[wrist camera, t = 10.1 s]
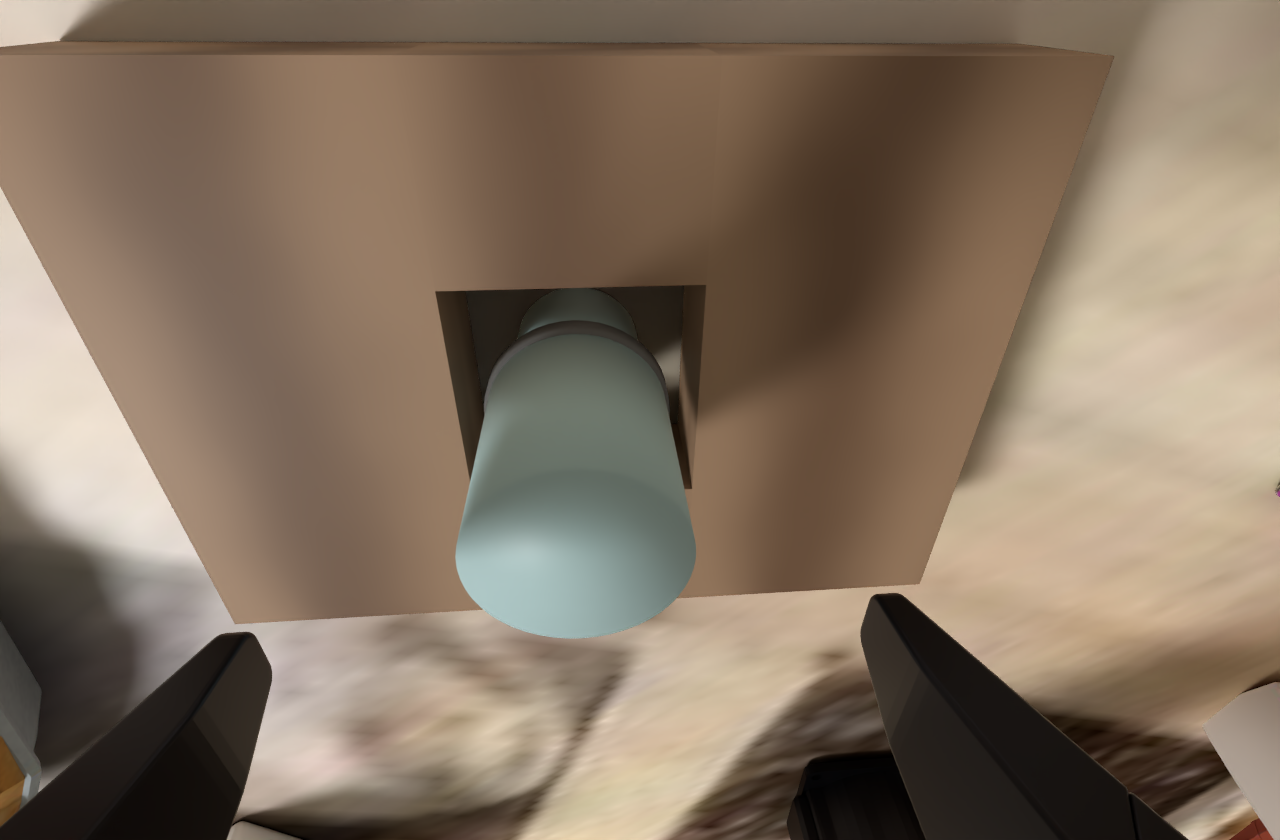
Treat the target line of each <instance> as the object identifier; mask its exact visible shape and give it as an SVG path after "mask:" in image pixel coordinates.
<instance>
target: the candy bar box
mask: <svg viewBox="0 0 1280 840" xmlns="http://www.w3.org/2000/svg"><path fill="white" fill-rule="evenodd" d="M1275 493H1276V495H1277V496H1279V497H1280V485H1279V486H1278V487H1277V488H1276V490H1275Z"/></svg>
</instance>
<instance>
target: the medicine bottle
mask: <svg viewBox="0 0 1280 840" xmlns="http://www.w3.org/2000/svg"><path fill="white" fill-rule="evenodd" d="M227 840H302V839H299V838H296V837H293V836H290V835H287V834H283V833H280V832H277V831H274V830H271V829H268V828H264V827H261V826H258V825H255V824H252V823H249V822H245V821H240V822H238V823H236V824H235V825H233V826H232V827H231V829H230V832H229V835H228V838H227Z"/></svg>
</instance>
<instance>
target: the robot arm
mask: <svg viewBox="0 0 1280 840" xmlns="http://www.w3.org/2000/svg"><path fill="white" fill-rule="evenodd" d="M861 643H862V647H863V651H864V655H865V658H866V662H867V666H868V669H869V673H870V677H871V680H872V684H873V688H874V691H875V695H876V699H877V702H878V706H879V710H880V713H881V717H882V721H883V724H884V728H885V731H886V735H887V738H888V741H889V744H890V747H891V750H892V753H893V755H894V757H893V758H880V759H868V760H855V761H842V762H829V763H816V764H811V765H809V766H807V767H805V769H804V771H803V775H802V778H801V782H800V785H799V788H798V792H797V795H796V796H795V798H794V800H793V802H792V806H791V809H790V812H789V816H788V819H787V827H788V831H789V835H790V839H791V840H1188V839H1187V838H1186V837H1185V836H1183V835H1182V834H1181V833H1180V832H1179V831H1177V830H1176V829H1175V828H1174V827H1173V826H1171V825H1170V824H1169V823H1168V822H1167V821H1165V820H1164V819H1163V818H1162V817H1161V816H1159V815H1158V814H1157V813H1156V812H1155V811H1154V810H1153V809H1151V808H1150V807H1149V806H1148V805H1147V804H1146V803H1144V802H1143V801H1142V800H1141V799H1140V798H1139V797H1137V796H1136V795H1135V794H1133V793H1128V789H1127V788H1126V787H1125V786H1124V785H1123V784H1122V783H1121V782H1120V781H1118V780H1117V779H1116V778H1115V777H1114V776H1113V775H1111V774H1110V773H1109V772H1108V771H1107V770H1106V769H1105V768H1103V767H1102V766H1101V765H1100V764H1099V763H1098V762H1096V761H1095V760H1094V759H1093V758H1092V757H1091V756H1089V755H1088V754H1087V753H1086V752H1085V751H1084V750H1082V749H1081V748H1080V747H1079V746H1078V745H1077V744H1075V743H1074V742H1073V741H1072V740H1071V739H1070V738H1068V737H1067V736H1066V735H1065V734H1064V733H1063V732H1061V731H1060V730H1059V729H1058V728H1057V727H1056V726H1055V725H1053V724H1052V723H1051V722H1050V721H1049V720H1048V719H1046V718H1045V717H1044V716H1043V715H1042V714H1041V713H1039V712H1038V711H1037V710H1036V709H1035V708H1034V707H1032V706H1031V705H1030V704H1029V703H1028V702H1027V701H1025V700H1024V699H1023V698H1022V697H1021V696H1020V695H1018V694H1017V693H1016V692H1015V691H1014V690H1013V689H1011V688H1010V687H1009V686H1008V685H1007V684H1006V683H1004V682H1003V681H1002V680H1001V679H1000V678H999V677H998V676H996V675H995V674H994V673H993V672H992V671H991V670H989V669H988V668H987V667H986V666H985V665H984V664H982V663H981V662H980V661H979V660H978V659H977V658H975V657H974V656H973V655H972V654H971V653H970V652H968V651H967V650H966V649H965V648H964V647H963V646H961V645H960V644H959V643H958V642H957V641H956V640H954V639H953V638H952V637H951V636H950V635H949V634H948V633H946V632H945V631H944V630H943V629H942V628H941V627H939V626H938V625H937V624H936V623H935V622H934V621H932V620H931V619H930V618H929V617H928V616H927V615H925V614H924V613H923V612H922V611H921V610H920V609H918V608H917V607H916V606H915V605H914V604H913V603H911V602H910V601H909V600H908V599H907V598H906V597H904V596H903V595H901V594H898V593H887V594H875V595H874V596H872V597H871V599H870V601H869V604H868V607H867V611H866V614H865V617H864V620H863V623H862V626H861ZM271 682H272V669H271V665H270V663H269V661H268V659H267V657H266V655H265V653H264V651H263V649H262V648H261V646H260V644H259V642H258V640H257V638H256V636H255V635H254V634H252V633H250V632H236V633H225V634H221V635H219V636H217V637H215V638H214V639H213V640H211V641H210V642H209V643H208V644H207V645H206V646H205V647H204V648H202V649H201V650H200V651H199V652H198V653H197V654H196V655H194V656H193V657H192V658H191V659H190V660H189V661H188V662H186V663H185V664H184V665H183V666H182V667H181V668H180V669H179V670H177V671H176V672H175V673H174V674H173V675H172V676H171V677H169V678H168V679H167V680H166V681H165V682H164V683H163V684H161V685H160V686H159V687H158V688H157V689H156V690H155V691H154V692H152V693H151V694H150V695H149V696H148V697H147V698H146V699H144V700H143V701H142V702H141V703H140V704H139V705H138V706H136V707H135V708H134V709H133V710H132V711H131V712H130V713H129V714H127V715H126V716H125V717H124V718H123V719H122V720H121V721H119V722H118V723H117V724H116V725H115V726H114V727H113V728H111V729H110V730H109V731H108V732H107V733H106V734H105V735H104V736H102V737H101V738H100V739H99V740H98V741H97V742H96V743H94V744H93V745H92V746H91V747H90V748H89V749H88V750H86V751H85V752H84V753H83V754H82V755H81V756H80V757H79V758H77V759H76V760H75V761H74V762H73V763H72V764H71V765H69V766H68V767H67V768H66V769H65V770H64V771H63V772H61V773H60V774H59V775H58V776H57V777H56V778H55V779H54V780H52V781H51V782H50V783H49V784H48V785H47V786H46V787H44V788H43V789H42V790H41V791H40V792H39V793H38V794H36V795H35V796H34V797H33V798H32V799H31V800H30V801H29V802H27V803H26V804H25V805H24V806H23V807H22V808H21V809H19V810H18V811H17V812H16V813H15V814H14V815H13V816H11V817H10V818H9V819H8V820H7V821H6V822H5V823H4V824H2V825H1V826H0V840H227V838H228V835H229V832H230V829H231V827H232V824H233V821H234V818H235V816H236V813H237V810H238V807H239V804H240V801H241V798H242V795H243V792H244V789H245V785H246V781H247V778H248V774H249V770H250V766H251V762H252V758H253V754H254V750H255V746H256V742H257V738H258V734H259V730H260V726H261V722H262V718H263V714H264V710H265V706H266V702H267V698H268V694H269V690H270V686H271Z"/></svg>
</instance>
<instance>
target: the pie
mask: <svg viewBox="0 0 1280 840" xmlns="http://www.w3.org/2000/svg"><path fill="white" fill-rule="evenodd" d="M41 693H42V690H41V688H40V686H39V685H38V683H37V681H36V680H35V678H34V676H33V674H32V673H31V671H30V669H29V668H28V666H27V664H26V663H25V661H24V659H23V658H22V656H21V654H20V652H19V651H18V649H17V647H16V646H15V644H14V642H13V641H12V639H11V637H10V635H9V634H8V632H7V630H6V629H5V627H4V625H3V624H2V622H1V620H0V826H1V825H2V824H4V823H5V822H6V821H7V820H8V819H9V818H10V817H11V816H13V815H14V814H15V813H16V812H17V811H18V810H19V809H21V808H22V807H23V806H24V805H25V804H26V803H27V802H29V801H30V800H31V799H32V798H33V797H34V796H35V795H36V794H37V793H38V788H39V783H40V778H41V773H42V769H41V765H40V761H39V759H38V758H37V756H36V755H35V753H34V748H35V743H36V738H37V732H38V722H39V712H40V703H41Z"/></svg>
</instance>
